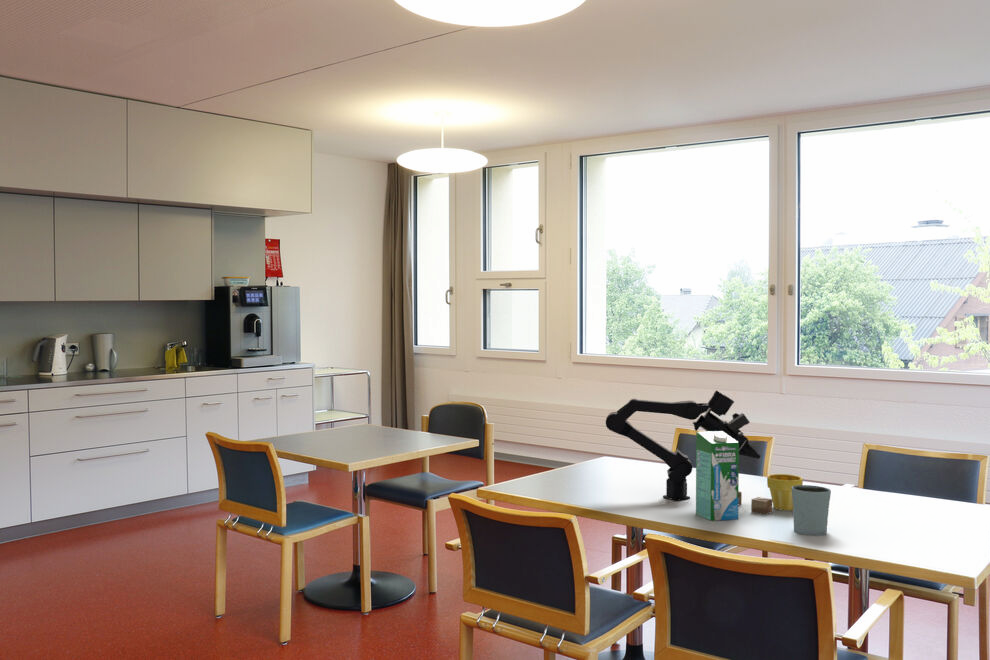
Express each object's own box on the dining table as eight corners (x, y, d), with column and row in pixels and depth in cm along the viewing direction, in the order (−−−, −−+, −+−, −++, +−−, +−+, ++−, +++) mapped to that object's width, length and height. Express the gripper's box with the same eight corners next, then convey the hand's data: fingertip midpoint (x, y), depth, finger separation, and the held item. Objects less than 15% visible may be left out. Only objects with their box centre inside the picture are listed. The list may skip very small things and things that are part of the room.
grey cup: (784, 531, 226) (785, 488, 225) (801, 524, 233) (801, 483, 232) (820, 538, 218) (821, 493, 218) (836, 531, 225) (836, 488, 225)
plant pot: (778, 512, 247) (778, 480, 247) (760, 505, 257) (761, 474, 257) (809, 511, 249) (809, 479, 249) (790, 503, 259) (790, 473, 259)
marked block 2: (765, 514, 245) (765, 501, 245) (751, 512, 248) (751, 498, 248) (772, 512, 248) (772, 498, 248) (758, 509, 251) (758, 496, 251)
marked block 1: (728, 505, 257) (728, 492, 257) (721, 502, 261) (721, 489, 261) (741, 504, 258) (741, 491, 258) (733, 501, 263) (733, 488, 263)
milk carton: (711, 521, 237) (711, 435, 236) (695, 513, 245) (696, 431, 245) (738, 519, 239) (739, 434, 239) (722, 512, 248) (722, 430, 247)
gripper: (734, 410, 254) (777, 439, 252) (727, 403, 273) (768, 430, 270) (713, 439, 256) (756, 468, 253) (708, 430, 274) (748, 457, 272)
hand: (757, 455), depth 262 cm, fingers open, 9 cm apart
